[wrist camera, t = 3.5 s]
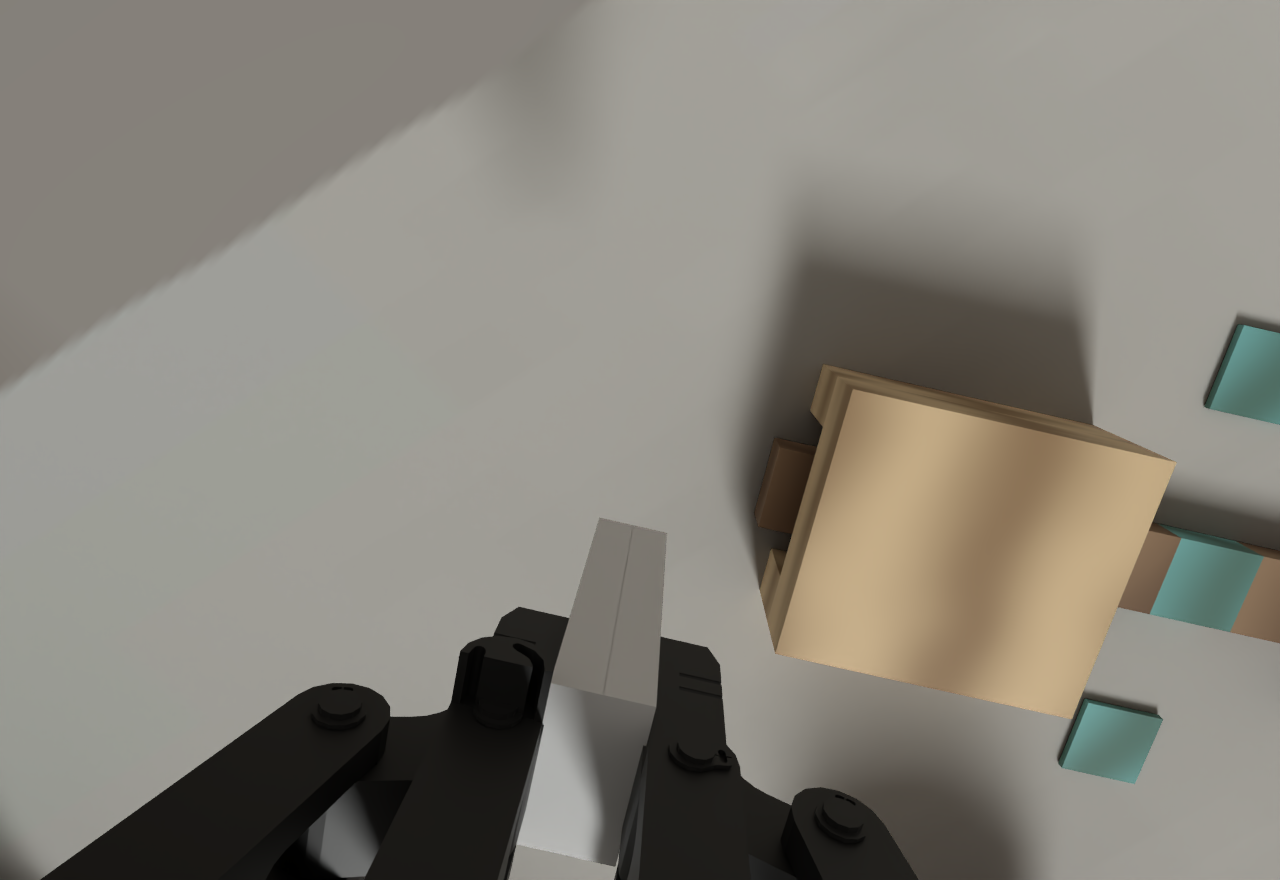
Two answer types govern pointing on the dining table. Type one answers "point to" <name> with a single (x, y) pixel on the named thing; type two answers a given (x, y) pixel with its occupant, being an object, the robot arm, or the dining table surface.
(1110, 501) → the light wooden box
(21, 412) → the dining table surface
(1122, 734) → the wooden block assembly
